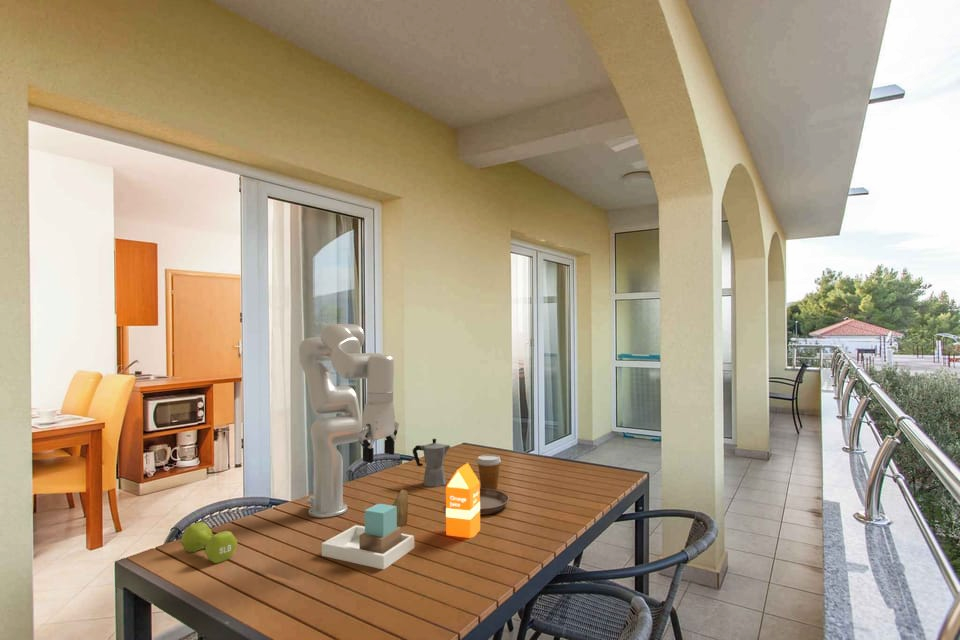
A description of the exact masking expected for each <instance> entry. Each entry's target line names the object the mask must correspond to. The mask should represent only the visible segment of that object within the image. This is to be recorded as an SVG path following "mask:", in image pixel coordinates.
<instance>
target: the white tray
mask: <svg viewBox="0 0 960 640" xmlns="http://www.w3.org/2000/svg"><path fill="white" fill-rule="evenodd" d="M364 532H365V526H362V525H359V524H358V525H357V524H355V525H353V526H352V527H350V528H348V529H346V530H344V531H342V532H340V533H339V534H337V535H335V536H333V537H331V538H328V539H327V540H325V541H324V542H321V556H322V557H326V558H330V559H335V560H339V561H344V562H348V563H353V564H356V565H357V564H358V565H361V566H366V567H371V568H375V569H379V570H383V571H384V570H385V569H387V568H388V567H389V566H392V565H393V564H394V563H395V562H397V561H398V560H399V559H401V558H402V557H403V556H405V555H406V554H408V553H409V552H410V551H412V550H414V549H415V535H412V534H406V533H402V532H401V542H400V543H399V544H397V545H396V546H394V547H393V548H391V549H390V550H388V551H387V552H385V553H384V554H380V553H376V552H371V551H366V550H361V549H360V535H361V534H363V533H364Z"/></svg>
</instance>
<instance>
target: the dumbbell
mask: <svg viewBox="0 0 960 640" xmlns="http://www.w3.org/2000/svg"><path fill="white" fill-rule="evenodd" d="M179 542H180V545H181V546H182V547H183V548H184V549H183V550H185V551H186V552H188V553H190V552H192V553H195V551H196V552H199V551H201V549H202V550H204V549H205V550H204V553H205V555H206V557H207V558H208V559H209V561H210V562H212V563H213V564H219V563H222V562H225V561H227V560H230V558H232V556H233V554H234V553H235V550H236V549H237V545H238V541H237V537H235V535H234V534H233V532H231V531H228V530H224V531H221V532H218V533H216V534H214V535H213V531H212V529H211V528H210V527H209V525H208V524H207V523H206V522H204V521H200V522H196V523H193V524H189V525H188V526H187V527H186V529H185V530H184V532H183V534H182V536H181V538H180V541H179ZM198 550H199V551H198Z"/></svg>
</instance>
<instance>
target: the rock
mask: <svg viewBox="0 0 960 640" xmlns="http://www.w3.org/2000/svg"><path fill="white" fill-rule="evenodd" d="M408 499H409V493H408V491H407V490H405V489H403V488H401V490H400V492H399V493H398V495H397V496H396V498H395V500H394V502H393V503H392V504H391V506H397V527H401V528H402V527H407V525H408V524H407V523H408V514H409V511H408V509H409V502H408V501H409V500H408Z"/></svg>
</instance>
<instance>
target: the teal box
mask: <svg viewBox="0 0 960 640" xmlns="http://www.w3.org/2000/svg"><path fill="white" fill-rule="evenodd" d="M364 527H365V534H370V535H375V536H381V537H384V536H386V535H388V534H389V533H391V532H392V531H394V530H396V529H397V527H398V525H397V506H392V504H385V503H376V504H374V505H373V506H370V507H369V508H367V509H365V510H364Z"/></svg>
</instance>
